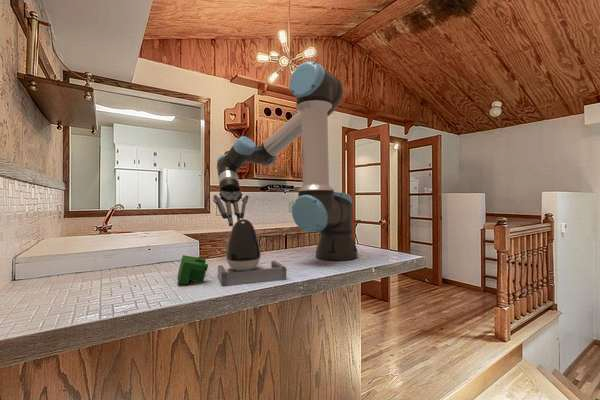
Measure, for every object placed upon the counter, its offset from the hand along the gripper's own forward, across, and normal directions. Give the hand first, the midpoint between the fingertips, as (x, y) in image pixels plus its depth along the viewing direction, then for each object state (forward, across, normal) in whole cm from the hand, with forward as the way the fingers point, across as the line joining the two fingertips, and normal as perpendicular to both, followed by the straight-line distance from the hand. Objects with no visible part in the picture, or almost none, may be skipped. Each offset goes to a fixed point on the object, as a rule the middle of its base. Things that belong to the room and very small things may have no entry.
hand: (235, 232), depth 101 cm
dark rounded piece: (+15, -1, 0) cm, 15 cm away
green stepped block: (+20, +14, +5) cm, 25 cm away
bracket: (+23, -1, +9) cm, 24 cm away
